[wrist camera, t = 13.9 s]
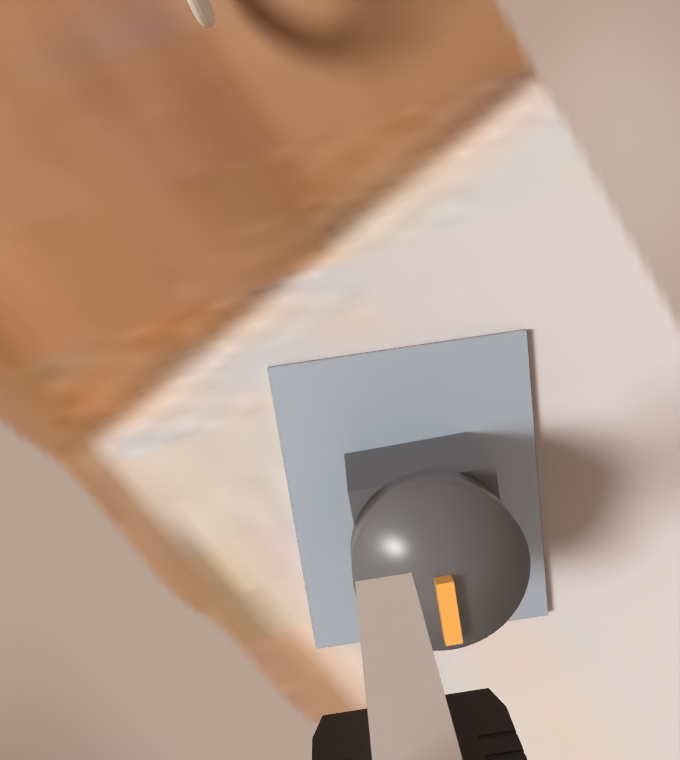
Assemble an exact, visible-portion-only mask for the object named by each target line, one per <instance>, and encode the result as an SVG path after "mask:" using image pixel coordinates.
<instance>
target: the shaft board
mask: <svg viewBox="0 0 680 760" xmlns="http://www.w3.org/2000/svg"><path fill="white" fill-rule="evenodd" d="M267 369H268V374H269V380H270V386H271V392H272V397H273V403H274V409H275V415H276V420H277V426H278V432H279V438H280V443H281V449H282V455H283V461H284V466H285V472H286V478H287V484H288V490H289V495H290V501H291V507H292V513H293V518H294V524H295V530H296V536H297V541H298V547H299V553H300V559H301V564H302V570H303V576H304V582H305V587H306V593H307V599H308V605H309V610H310V616H311V622H312V628H313V633H314V639H315V645H316V649H317V648H324V647H331V646H338V645H345V644H352V643H359V642H361V639H360V629H359V618H358V608H357V598H356V594H355V590H354V585H353V577H352V565H351V554H350V545H351V536H352V531H353V528H354V523H353V518H352V512H351V507H350V502H349V496H348V490H347V479H346V469H345V459H344V454H346V453H352V452H357V451H363V450H368V449H374V448H379V447H385V446H391V445H396V444H402V443H407V442H413V441H418V440H424V439H430V438H435V437H441V436H446V435H452V434H457V433H463V432H467V433H468V434H469V435H470V436H471V438H472V439H473V440H474V441H475V442H476V443H477V445H478V446H479V447H480V448H481V449H482V451H483V452H484V453H485V454H486V455H487V456H488V458H489V459H490V460H491V461H492V462H493V463H494V465H495V466H496V472H497V479H498V487H499V495H500V500H501V502H502V503H503V504H504V506H505V507H506V508H507V510H508V511H509V512H510V514H511V515H512V516H513V518H514V519H515V521H516V522H517V523H518V525H519V526H520V528H521V530H522V532H523V534H524V536H525V538H526V541H527V544H528V548H529V553H530V564H531V568H530V578H529V582H528V586H527V589H526V592H525V595H524V597H523V599H522V601H521V603H520V605H519V607H518V608H517V609H516V611H515V612H514V614H513V615H512V616H511V617H510V618H509V620H508V621H512V620H519V619H525V618H532V617H539V616H546V615H548V607H547V594H546V580H545V567H544V554H543V541H542V528H541V515H540V501H539V488H538V475H537V462H536V449H535V435H534V422H533V409H532V396H531V383H530V370H529V356H528V343H527V330H524V329H523V330H517V331H510V332H503V333H496V334H489V335H483V336H476V337H469V338H462V339H455V340H448V341H442V342H435V343H428V344H421V345H414V346H407V347H401V348H394V349H387V350H380V351H373V352H367V353H360V354H353V355H346V356H339V357H332V358H326V359H319V360H312V361H305V362H298V363H291V364H285V365H278V366H271V367H268V368H267Z"/></svg>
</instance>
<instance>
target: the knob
mask: <svg viewBox="0 0 680 760" xmlns="http://www.w3.org/2000/svg"><path fill="white" fill-rule="evenodd" d="M344 459H345V469H346V479H347V490H348V496H349V502H350V507H351V512H352V518H353V523H354V528H353V531H352V536H351V545H350V554H351V565H352V577H353V585H354V590H355V594H356V587H355V582H356V581H362V580H369V579H375V578H381V577H388V576H394V575H400V574H407V573H412V576H413V580H414V583H415V587H416V591H417V594H418V598H419V602H420V605H421V609H422V613H423V616H424V620H425V624H426V627H427V631H428V635H429V638H430V642H431V646H432V649H433V651H443V650H452V649H457V648H461V647H465V646H468V645H471V644H474V643H476V642H478V641H480V640H482V639H484V638H486V637H488V636H489V635H491V634H492V633H494V632H495V631H497V630H498V629H499V628H500V627H501V626H503V625H504V624H505V623H506V622H507V621H508V620H509V618H510V617H511V616H512V615H513V614H514V612H515V611H516V609H517V608H518V607H519V605H520V603H521V601H522V599H523V597H524V595H525V592H526V589H527V586H528V582H529V578H530V568H531V564H530V553H529V548H528V544H527V541H526V538H525V536H524V534H523V532H522V530H521V528H520V526H519V525H518V523H517V522H516V521H515V519H514V518H513V516H512V515H511V514H510V512H509V511H508V510H507V508H506V507H505V506H504V504H503V503H502V502H501V500H500V495H499V487H498V479H497V472H496V466H495V465H494V463H493V462H492V461H491V460H490V459H489V458H488V456H487V455H486V454H485V453H484V452H483V451H482V449H481V448H480V447H479V446H478V445H477V443H476V442H475V441H474V440H473V439H472V438H471V436H470V435H469V434H468V433H467V432H463V433H457V434H452V435H446V436H441V437H435V438H430V439H424V440H418V441H413V442H407V443H402V444H396V445H391V446H385V447H379V448H374V449H368V450H363V451H357V452H352V453H346V454H344ZM356 598H357V597H356Z"/></svg>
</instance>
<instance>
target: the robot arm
mask: <svg viewBox="0 0 680 760" xmlns="http://www.w3.org/2000/svg"><path fill="white" fill-rule="evenodd" d="M355 587H356V597H357V608H358V618H359V629H360V639H361V649H362V660H363V670H364V680H365V691H366V701H367V709H362V710H356V711H349V712H343V713H336V714H330V715H323V716H322V718H321V720H320V723H319V725H318V727H317V729H316V732H315V734H314V736H313V741H312V743H313V744H312V760H527V758H526V755H525V754H524V751H523V748H522V745H521V743H520V740H519V738H518V735H517V734H516V730H515V728H514V725H513V723H512V720H511V718H510V715H509V713H508V710H507V708H506V706H505V705H504V704H503V703H502V702H501V701H500V700H499V699H498V698H497V697H496V696H495V695H494V694H493V692H492V691H491V690H490V689H489V688H486V689H480V690H473V691H467V692H460V693H454V694H448V695H445V693H444V690H443V686H442V682H441V679H440V675H439V671H438V668H437V664H436V660H435V657H434V653H433V649H432V646H431V642H430V638H429V635H428V631H427V627H426V624H425V620H424V616H423V613H422V609H421V605H420V602H419V598H418V594H417V591H416V587H415V583H414V580H413V576H412V573H407V574H400V575H394V576H388V577H381V578H375V579H369V580H362V581H356V582H355Z"/></svg>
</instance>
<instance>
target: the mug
mask: <svg viewBox="0 0 680 760" xmlns="http://www.w3.org/2000/svg"><path fill="white" fill-rule="evenodd" d="M187 2H188V4H189V6H190V8H191V10H192V12H193V14H194V16H195V17H196V19H197V20H198V22H199V23H200V24H201V25H202V26H203V27H205V28H211V27H212V26H213V25H214V22H215V18H214V12H213V9H212V6H211V4H210V2H209V0H187Z"/></svg>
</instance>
